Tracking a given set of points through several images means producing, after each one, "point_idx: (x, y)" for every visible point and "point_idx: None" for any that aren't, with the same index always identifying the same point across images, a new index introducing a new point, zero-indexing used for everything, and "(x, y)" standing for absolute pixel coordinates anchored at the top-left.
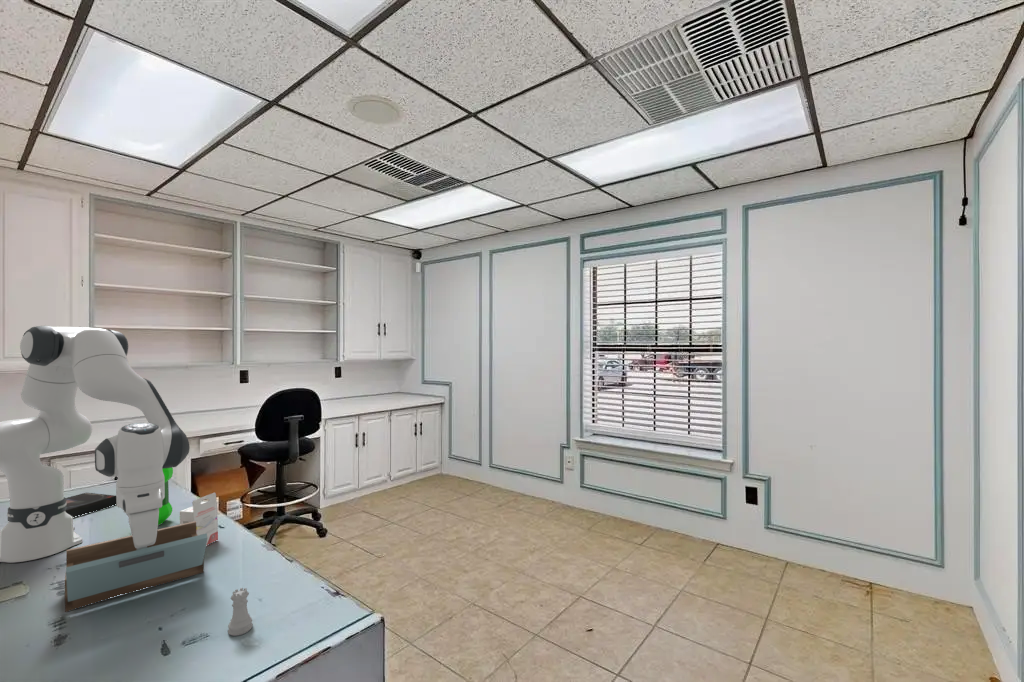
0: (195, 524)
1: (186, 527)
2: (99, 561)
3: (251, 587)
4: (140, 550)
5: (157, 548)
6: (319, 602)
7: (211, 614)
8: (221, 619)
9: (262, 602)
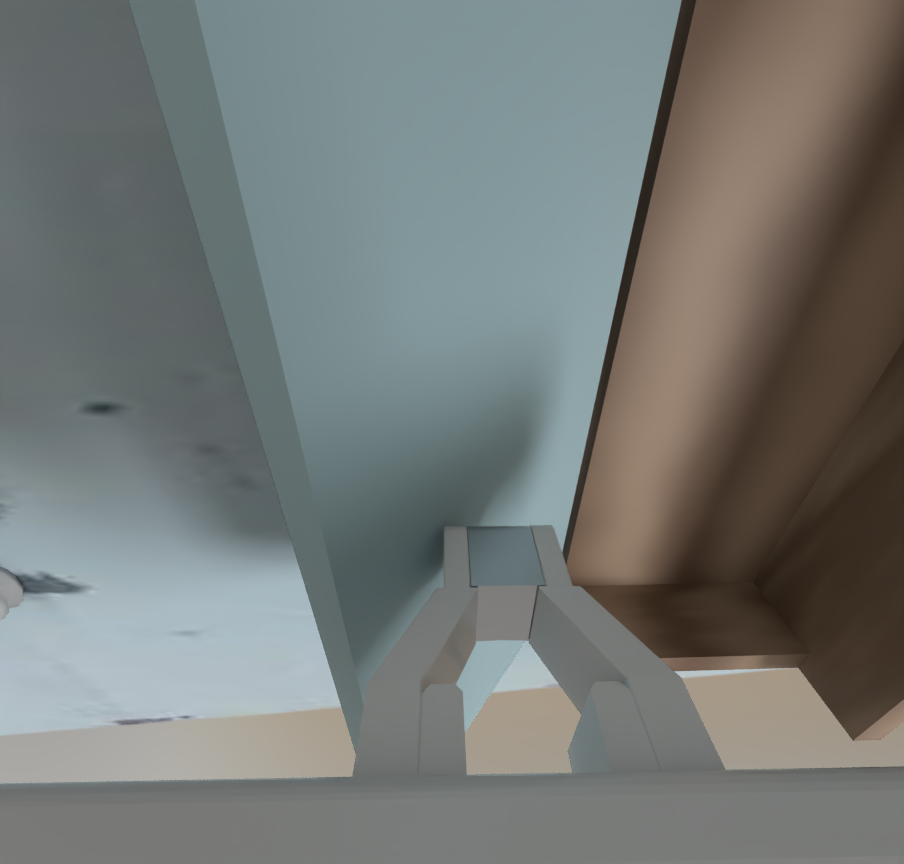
0: (843, 722)
1: (863, 692)
2: (194, 147)
3: (293, 629)
4: (337, 611)
5: (341, 678)
6: (95, 702)
7: (145, 539)
8: (90, 555)
9: (163, 634)
